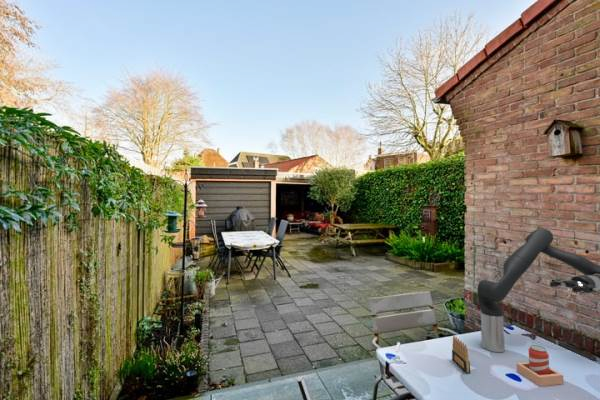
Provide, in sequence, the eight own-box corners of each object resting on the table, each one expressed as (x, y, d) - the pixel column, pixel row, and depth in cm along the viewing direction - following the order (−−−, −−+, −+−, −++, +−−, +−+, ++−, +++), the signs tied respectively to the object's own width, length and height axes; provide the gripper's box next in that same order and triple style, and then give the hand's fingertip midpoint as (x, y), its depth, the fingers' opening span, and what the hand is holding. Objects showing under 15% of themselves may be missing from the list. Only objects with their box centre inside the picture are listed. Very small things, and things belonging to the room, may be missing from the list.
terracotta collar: (540, 386, 110) (539, 377, 110) (516, 371, 120) (516, 363, 120) (563, 384, 111) (563, 375, 111) (538, 369, 121) (538, 361, 121)
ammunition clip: (470, 373, 119) (469, 345, 120) (466, 373, 119) (464, 345, 120) (456, 360, 130) (454, 334, 130) (452, 360, 130) (450, 334, 130)
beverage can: (530, 371, 120) (529, 342, 120) (550, 377, 115) (549, 347, 116) (528, 377, 116) (527, 348, 116) (549, 384, 111) (547, 353, 111)
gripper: (567, 272, 138) (543, 275, 133) (605, 279, 124) (580, 282, 120) (568, 287, 138) (544, 291, 133) (606, 296, 124) (582, 300, 119)
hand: (561, 287), depth 126 cm, fingers open, 8 cm apart
